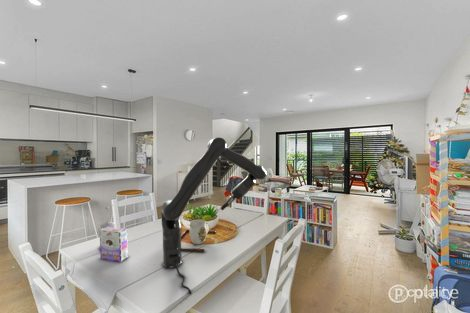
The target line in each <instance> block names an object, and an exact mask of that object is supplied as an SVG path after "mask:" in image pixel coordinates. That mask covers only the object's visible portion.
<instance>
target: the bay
mask: <svg viewBox="0 0 470 313" xmlns="http://www.w3.org/2000/svg"><path fill="white" fill-rule="evenodd" d="M189 230H190V228H186V229H185V230H184V231H182V232H181V239H182V238H183V237H184V236H185V235H186V234H187V233H189ZM216 233H217V231H216V230H209V232H208V233H207V234H214V235H215V234H216ZM181 252H191V253H205V252H206V249H205V248H195V247H181Z"/></svg>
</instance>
